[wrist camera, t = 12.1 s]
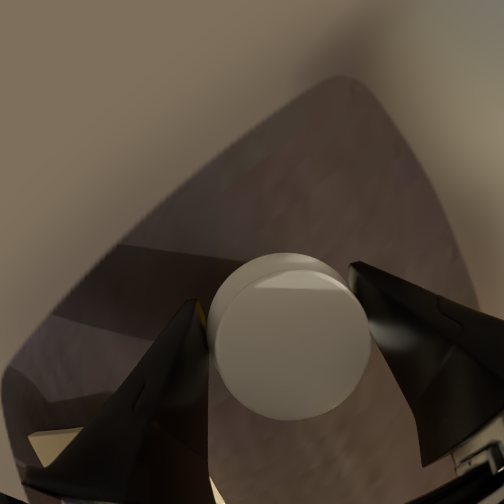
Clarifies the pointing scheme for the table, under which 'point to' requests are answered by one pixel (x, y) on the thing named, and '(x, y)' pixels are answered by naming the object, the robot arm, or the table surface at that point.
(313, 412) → the supplement bottle
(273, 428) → the table surface
